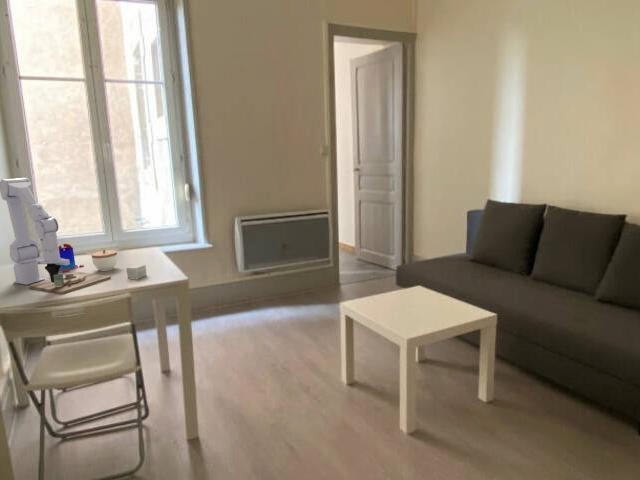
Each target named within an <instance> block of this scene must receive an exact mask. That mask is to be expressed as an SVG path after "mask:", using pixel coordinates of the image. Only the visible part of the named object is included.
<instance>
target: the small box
mask: <svg viewBox="0 0 640 480" xmlns="http://www.w3.org/2000/svg"><path fill="white" fill-rule="evenodd" d="M125 270H126V274H127V279H130V278H131V279H132V280H138V279H142V278H144V277H146V276H148V275H147V268H146V264H133V265H129V266H128V267H127V266H126V269H125Z"/></svg>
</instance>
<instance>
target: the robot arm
mask: <svg viewBox="0 0 640 480" xmlns="http://www.w3.org/2000/svg"><path fill="white" fill-rule="evenodd" d="M32 189H33V187H32V183H31V180H30V179H29V178H28V177H26V176H25V177H20V178H17V177H15V178H2V179H1V180H0V196H1V200H3V201H6V204H7V208H8V213H9V217H10V222H11V224H12V225H11V226H12V229H13V233H14V237H15V239H14V241H12V242H11V243H10V244H9V257H10V259H11V261H12V262H13V263H14V264H13V273H14V277H15V280H14V281H13V283H15V284H19V285H20V284H21V285H25V286H26V285H27V286H28V285H32V284H35V283H39V282H43V281H46V280H45V279H46V278H43V277H41V276H40V271H39V266H38V265H46V266H44V269H45V270H46V272H48V274H49V277H50V279H51V282H52V283H54V277H53V275H54V274H56V273H60V271H59V269H60V267H61V265H69V264H70V261H69V260H68V259H62V258H60V254H59V242H58V235H57V232H58V231H59V223H58V221H57V219H56V217H53V216H52V215H49V213H48V212H47V211H46V210H45V208H44V206H43V205H42V204H40V203H38V202H37V199H35V196H34V195H33V193H32ZM22 202H23V204H24V205H25V206H26V207H27V208H28V209H27V214H28V215H29V217H30V218H31V220H32V221H33V223H34V224H35V225H34V229H35V231H36V234H37V237H38V239H39V240H40V245H41V249H40V247H39V245H38V242H37V240H35V239H33V238H31V237H30V234H29V230H28V225H27V221H26V218H25V213H24V208H23V204H22ZM41 251H42V258H40V257H41ZM50 279H49V280H50Z"/></svg>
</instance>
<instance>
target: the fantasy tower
mask: <svg viewBox="0 0 640 480" xmlns="http://www.w3.org/2000/svg"><path fill="white" fill-rule="evenodd" d="M58 247H59V254H60V258H62V259H68V260H69V261H70V264H69V265H61V267H60V269H59V273H63V274H65V273H70V272H71V271H73V270H77V269H79V268H80V269H81V268H85V265H84V264H79V265H76V260H75V253H74V248H73V247H72V246H71V244H69V243H63V246H62V244H61V245H58Z"/></svg>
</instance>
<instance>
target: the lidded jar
mask: <svg viewBox="0 0 640 480" xmlns="http://www.w3.org/2000/svg"><path fill="white" fill-rule="evenodd" d="M90 256H91V259H92V264H93V265H94V267H95V268H96V269H97V270H99V271H100V272H107V271H112V270H113V269H114V268H115V267H116V266H117V264H118V263H117V262H118V251H117V250H113V249H112V250H106V249H102V250H101V251H96V252H94V253H92V254H91V255H90Z"/></svg>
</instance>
